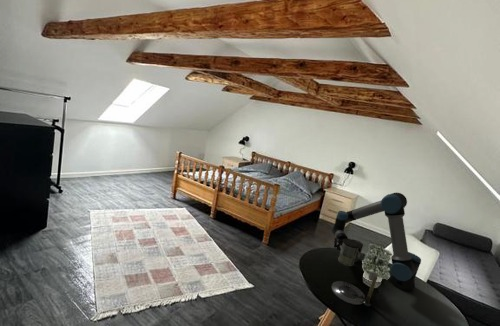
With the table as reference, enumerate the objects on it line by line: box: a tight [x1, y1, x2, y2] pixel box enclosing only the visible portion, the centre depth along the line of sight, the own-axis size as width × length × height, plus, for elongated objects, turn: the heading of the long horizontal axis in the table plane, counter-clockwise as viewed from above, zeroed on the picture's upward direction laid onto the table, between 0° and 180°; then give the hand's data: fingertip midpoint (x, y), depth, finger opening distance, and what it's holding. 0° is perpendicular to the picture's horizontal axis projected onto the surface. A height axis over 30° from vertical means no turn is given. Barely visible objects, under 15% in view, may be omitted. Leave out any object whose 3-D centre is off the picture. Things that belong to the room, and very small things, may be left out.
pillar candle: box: [352, 238, 364, 263], centre depth 212 cm, size 10×10×15 cm
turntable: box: [331, 280, 366, 306], centre depth 171 cm, size 20×20×1 cm
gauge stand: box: [362, 271, 379, 308], centre depth 162 cm, size 5×4×19 cm
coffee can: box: [337, 238, 360, 267], centre depth 183 cm, size 10×10×14 cm
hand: (350, 254), depth 178 cm, fingers closed on coffee can, 10 cm apart
